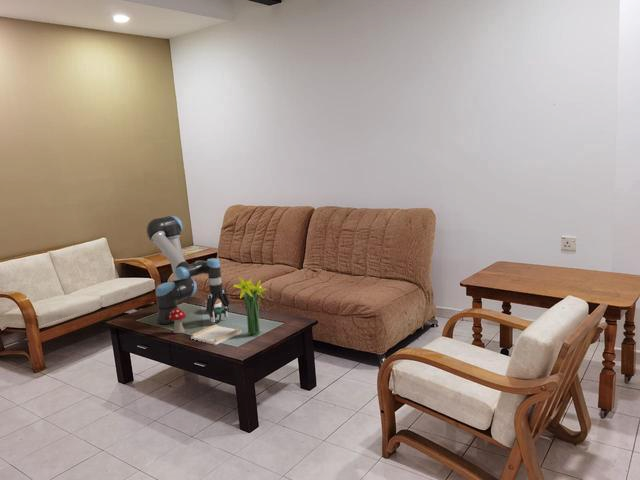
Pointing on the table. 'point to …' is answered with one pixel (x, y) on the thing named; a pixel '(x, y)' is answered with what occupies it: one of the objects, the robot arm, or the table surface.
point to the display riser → (215, 334)
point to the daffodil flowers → (249, 289)
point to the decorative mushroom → (177, 320)
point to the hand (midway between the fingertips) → (219, 319)
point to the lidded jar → (217, 303)
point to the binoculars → (219, 312)
